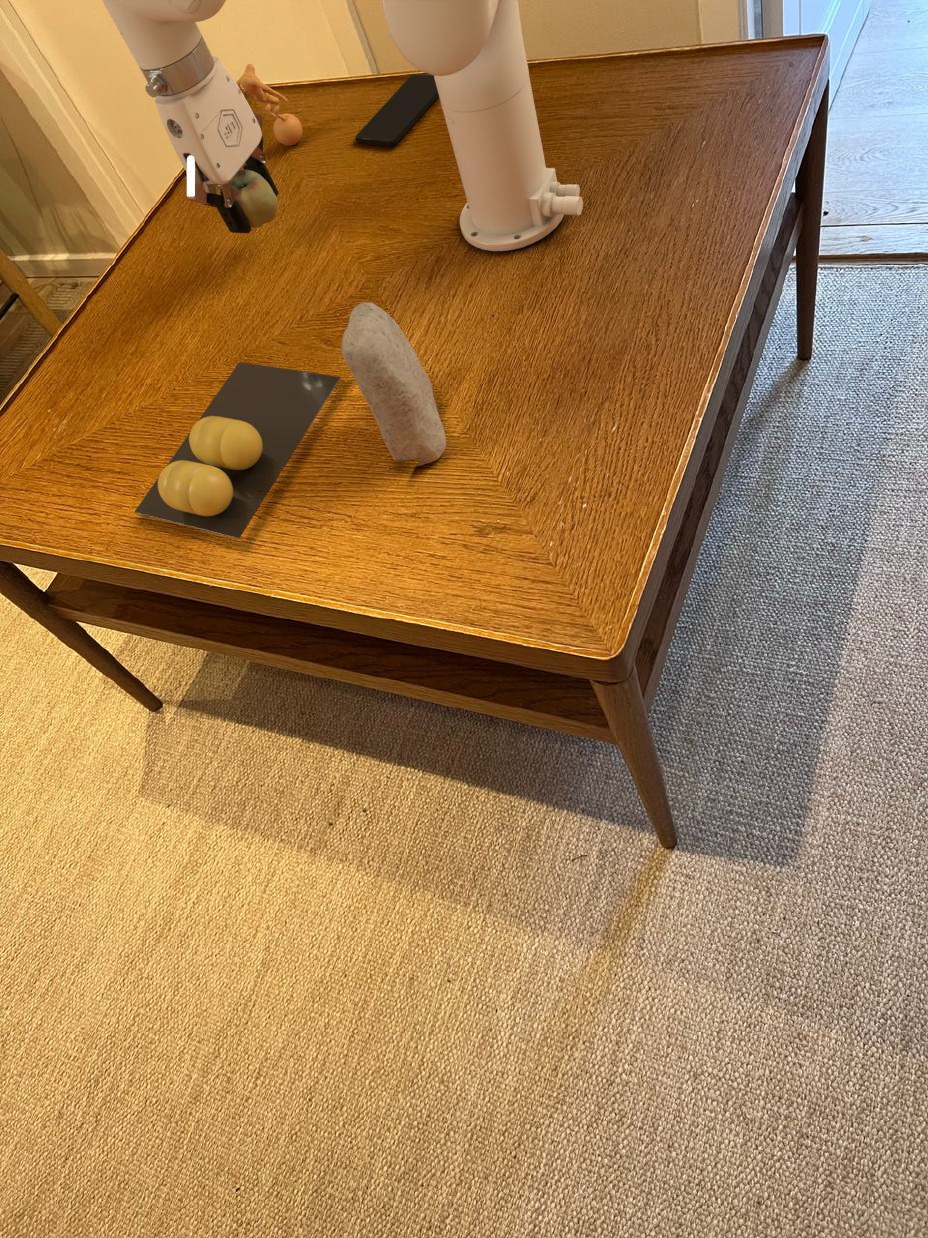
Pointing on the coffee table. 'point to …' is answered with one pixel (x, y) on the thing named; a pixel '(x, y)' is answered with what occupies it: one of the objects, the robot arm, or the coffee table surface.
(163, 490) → the bread roll
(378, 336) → the decorative stone
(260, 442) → the yellow lobed bun
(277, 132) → the figurine
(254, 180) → the apple
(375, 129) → the smartphone
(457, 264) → the coffee table surface
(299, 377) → the serving board
